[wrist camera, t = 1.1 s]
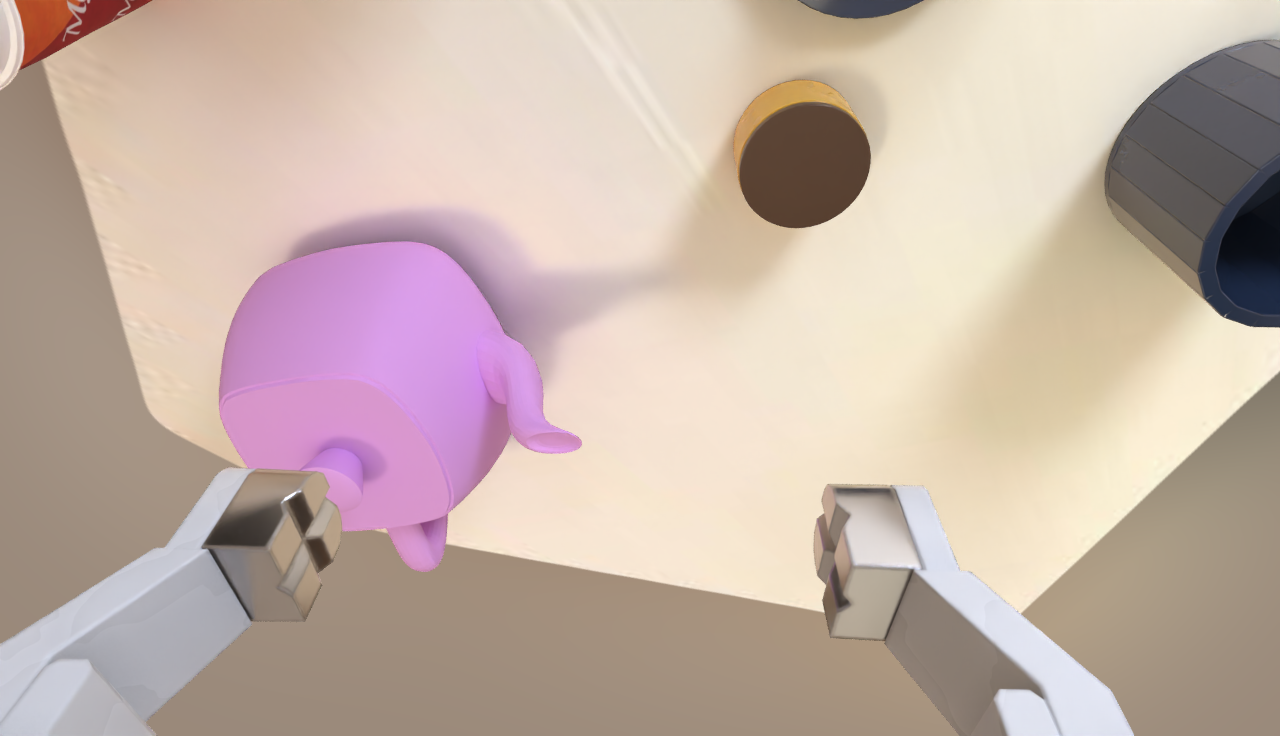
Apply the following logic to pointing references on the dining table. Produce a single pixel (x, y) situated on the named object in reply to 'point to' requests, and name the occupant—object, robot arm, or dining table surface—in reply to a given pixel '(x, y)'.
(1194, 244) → the pot
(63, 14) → the paper cup
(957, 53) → the dining table surface
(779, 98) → the tin
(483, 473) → the teapot
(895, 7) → the lid
